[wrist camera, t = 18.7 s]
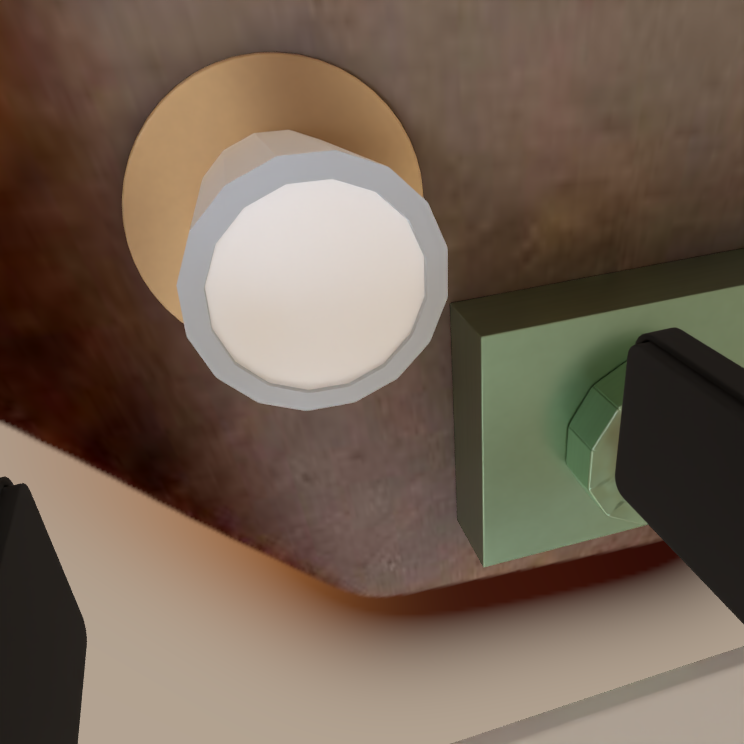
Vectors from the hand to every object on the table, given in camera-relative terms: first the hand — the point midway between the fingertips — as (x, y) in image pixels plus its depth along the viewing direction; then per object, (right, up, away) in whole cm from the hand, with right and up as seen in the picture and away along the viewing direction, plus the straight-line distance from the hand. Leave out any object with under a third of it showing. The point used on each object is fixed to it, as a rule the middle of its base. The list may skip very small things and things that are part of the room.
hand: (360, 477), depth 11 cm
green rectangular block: (+10, +1, +20) cm, 23 cm away
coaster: (-3, +7, +13) cm, 15 cm away
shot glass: (-3, +7, +13) cm, 15 cm away
